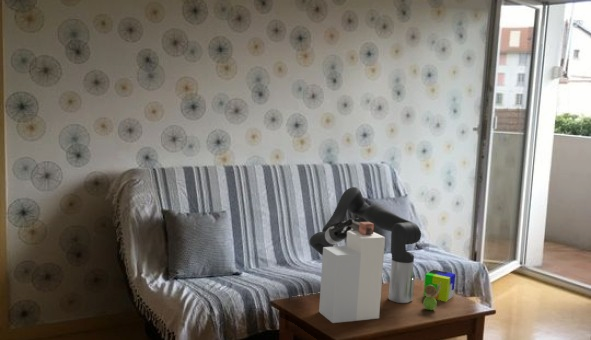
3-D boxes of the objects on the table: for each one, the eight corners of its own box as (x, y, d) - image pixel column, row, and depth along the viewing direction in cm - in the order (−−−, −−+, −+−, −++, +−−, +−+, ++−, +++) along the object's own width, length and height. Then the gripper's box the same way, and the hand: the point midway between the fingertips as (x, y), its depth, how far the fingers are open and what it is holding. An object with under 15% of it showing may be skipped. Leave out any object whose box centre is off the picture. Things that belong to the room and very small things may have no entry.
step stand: (363, 307, 250) (369, 230, 246) (379, 318, 239) (385, 237, 235) (319, 312, 242) (324, 232, 238) (332, 323, 231) (338, 239, 227)
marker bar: (353, 225, 252) (354, 215, 252) (373, 234, 238) (373, 223, 237) (344, 225, 251) (345, 215, 250) (363, 234, 236) (364, 224, 236)
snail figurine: (438, 313, 249) (441, 284, 247) (422, 311, 250) (425, 282, 249) (438, 308, 254) (441, 280, 253) (422, 306, 255) (425, 278, 254)
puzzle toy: (453, 296, 272) (455, 274, 271) (445, 301, 264) (447, 279, 262) (431, 291, 277) (433, 269, 276) (423, 296, 269) (425, 274, 268)
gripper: (352, 241, 263) (371, 229, 248) (323, 242, 258) (340, 230, 243) (349, 224, 266) (368, 211, 251) (320, 225, 260) (337, 212, 246)
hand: (354, 220), depth 247 cm, fingers closed on marker bar, 2 cm apart
